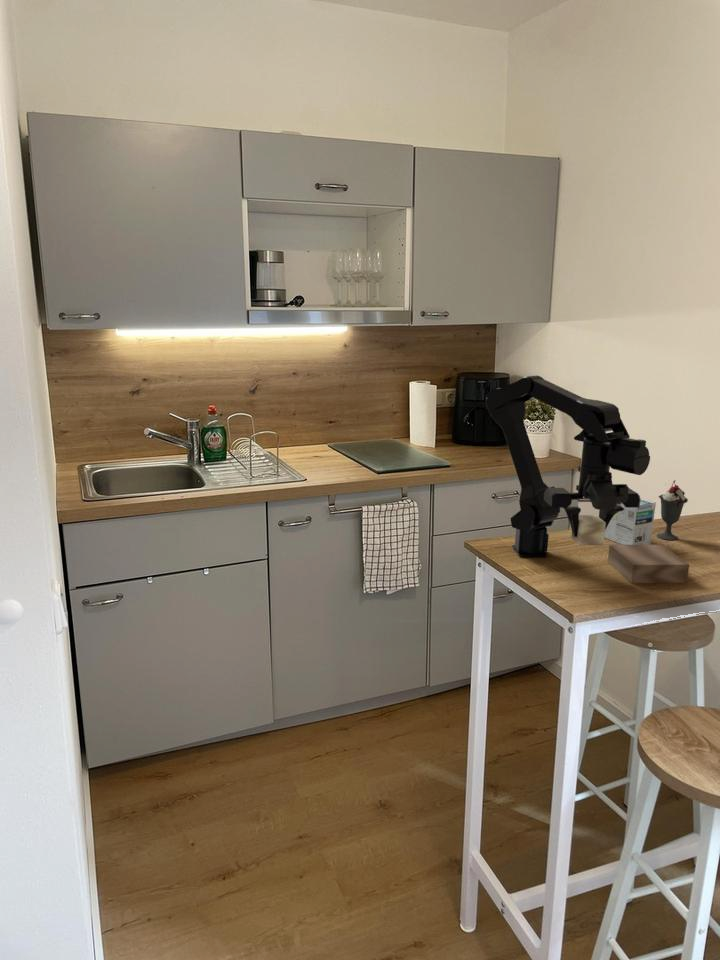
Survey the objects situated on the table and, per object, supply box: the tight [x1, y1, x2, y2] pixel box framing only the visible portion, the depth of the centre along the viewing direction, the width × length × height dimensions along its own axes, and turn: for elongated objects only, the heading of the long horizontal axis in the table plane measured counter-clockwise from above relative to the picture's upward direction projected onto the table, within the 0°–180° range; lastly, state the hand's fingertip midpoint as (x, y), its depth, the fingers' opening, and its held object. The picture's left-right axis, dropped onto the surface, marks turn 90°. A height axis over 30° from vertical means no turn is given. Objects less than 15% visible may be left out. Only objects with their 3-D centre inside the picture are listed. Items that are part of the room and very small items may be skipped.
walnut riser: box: [607, 544, 690, 584], centre depth 156 cm, size 12×12×4 cm
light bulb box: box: [604, 497, 657, 545], centre depth 175 cm, size 11×7×11 cm, turn 30°
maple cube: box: [570, 514, 606, 546], centre depth 153 cm, size 5×5×5 cm
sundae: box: [656, 480, 689, 541], centre depth 177 cm, size 7×7×15 cm
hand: (587, 536), depth 153 cm, fingers closed on maple cube, 5 cm apart
